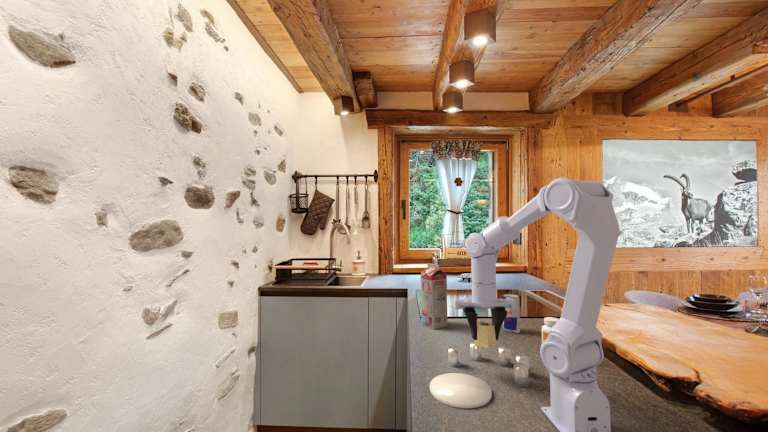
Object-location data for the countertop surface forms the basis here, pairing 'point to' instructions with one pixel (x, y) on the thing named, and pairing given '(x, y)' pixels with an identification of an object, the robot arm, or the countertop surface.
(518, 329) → the energy drink
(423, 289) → the juice carton
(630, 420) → the countertop surface
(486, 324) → the brass nut
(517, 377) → the spacer field
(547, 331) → the supplement bottle
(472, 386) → the ceramic plate
